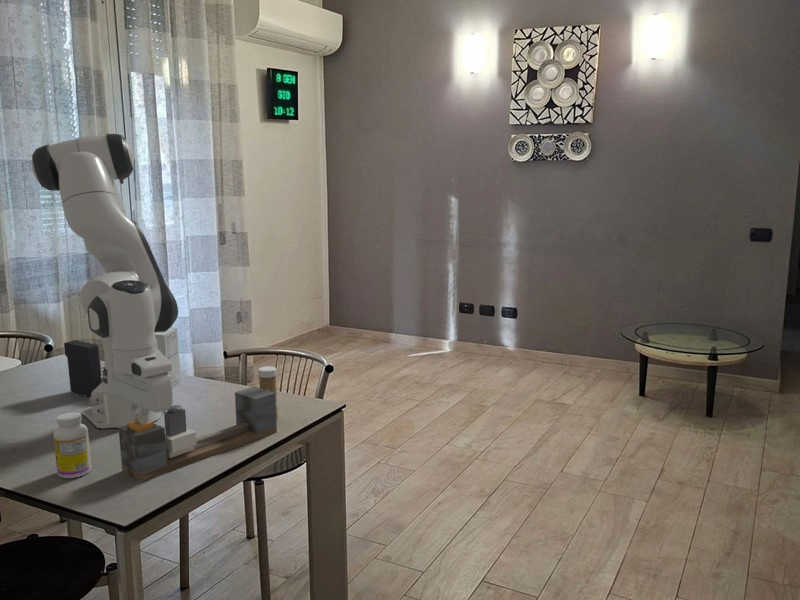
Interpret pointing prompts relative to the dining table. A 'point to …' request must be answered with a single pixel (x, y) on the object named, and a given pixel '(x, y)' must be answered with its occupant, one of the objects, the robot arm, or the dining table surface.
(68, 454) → the supplement bottle
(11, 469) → the dining table surface
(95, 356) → the black rectangular box
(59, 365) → the dining table surface
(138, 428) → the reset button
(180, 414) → the carriage
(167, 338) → the supplement box
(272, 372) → the sprinkles bottle
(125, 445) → the rail frame
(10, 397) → the dining table surface
